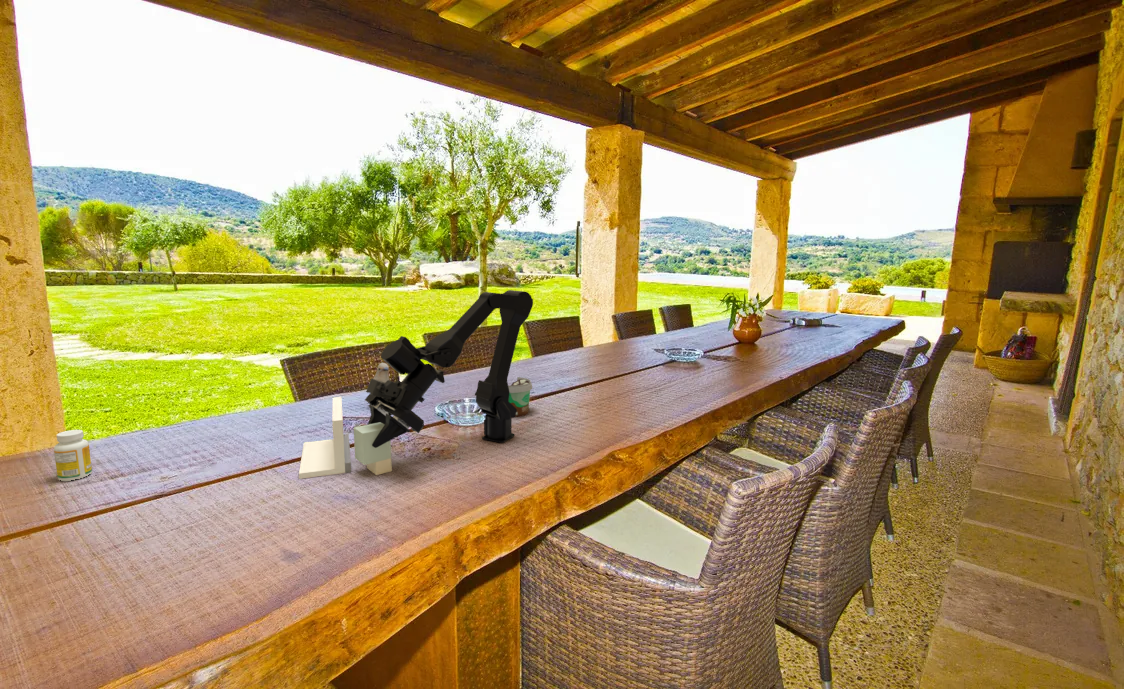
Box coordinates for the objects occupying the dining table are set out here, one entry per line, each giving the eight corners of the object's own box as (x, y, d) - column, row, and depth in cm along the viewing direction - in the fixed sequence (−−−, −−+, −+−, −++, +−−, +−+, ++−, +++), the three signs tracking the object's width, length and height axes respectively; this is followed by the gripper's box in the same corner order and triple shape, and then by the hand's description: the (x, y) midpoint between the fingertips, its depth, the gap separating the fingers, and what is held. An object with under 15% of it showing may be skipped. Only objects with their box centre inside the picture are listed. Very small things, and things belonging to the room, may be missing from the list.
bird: (381, 415, 155) (379, 365, 152) (364, 405, 165) (362, 358, 162) (397, 412, 158) (395, 363, 155) (379, 402, 168) (378, 356, 165)
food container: (526, 420, 153) (526, 387, 151) (506, 418, 154) (506, 385, 152) (536, 408, 165) (536, 377, 163) (517, 407, 166) (518, 376, 164)
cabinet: (383, 463, 119) (381, 421, 117) (392, 470, 115) (391, 427, 113) (355, 471, 115) (353, 427, 113) (364, 478, 111) (362, 433, 109)
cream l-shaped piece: (348, 442, 132) (346, 396, 130) (351, 472, 114) (348, 419, 112) (304, 447, 128) (301, 399, 126) (299, 478, 110) (295, 424, 108)
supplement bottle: (67, 483, 106) (60, 438, 104) (52, 479, 108) (45, 434, 106) (98, 473, 111) (92, 430, 109) (83, 469, 112) (77, 427, 111)
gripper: (371, 358, 121) (324, 413, 115) (409, 372, 107) (358, 435, 102) (404, 386, 127) (361, 439, 122) (443, 402, 114) (397, 463, 108)
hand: (368, 443), depth 113 cm, fingers closed on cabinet, 5 cm apart
